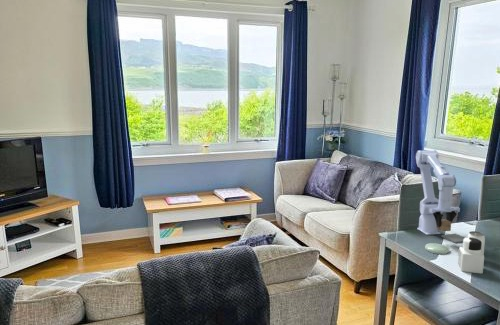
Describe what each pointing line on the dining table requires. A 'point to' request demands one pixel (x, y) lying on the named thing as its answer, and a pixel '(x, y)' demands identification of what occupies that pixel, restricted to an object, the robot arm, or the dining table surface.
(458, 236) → the slate coaster
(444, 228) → the walnut block
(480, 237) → the can
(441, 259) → the dining table surface
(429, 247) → the sage dish
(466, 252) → the container
